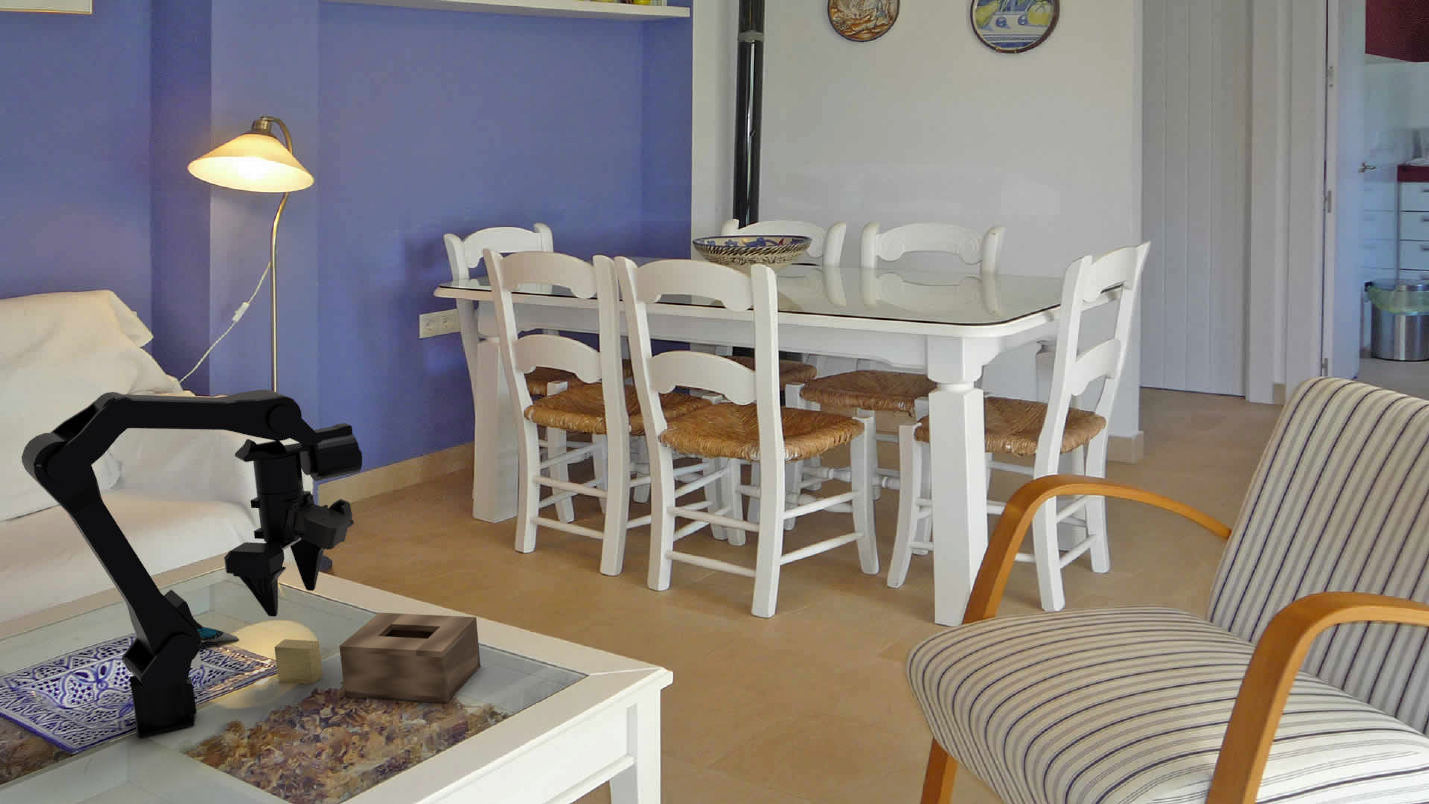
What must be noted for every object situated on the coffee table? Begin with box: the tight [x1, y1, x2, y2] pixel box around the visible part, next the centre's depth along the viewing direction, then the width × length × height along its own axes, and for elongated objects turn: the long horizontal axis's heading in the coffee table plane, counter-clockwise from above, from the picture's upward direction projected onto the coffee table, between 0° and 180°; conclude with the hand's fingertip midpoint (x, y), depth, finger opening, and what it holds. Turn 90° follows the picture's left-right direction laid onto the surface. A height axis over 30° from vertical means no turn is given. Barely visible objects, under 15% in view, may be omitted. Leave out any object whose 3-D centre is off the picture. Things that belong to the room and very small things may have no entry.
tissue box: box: [338, 612, 482, 704], centre depth 164 cm, size 14×11×7 cm
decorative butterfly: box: [190, 611, 240, 670], centre depth 176 cm, size 10×6×10 cm
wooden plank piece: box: [274, 638, 323, 685], centre depth 166 cm, size 5×2×5 cm, turn 78°
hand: (292, 602), depth 164 cm, fingers open, 9 cm apart
